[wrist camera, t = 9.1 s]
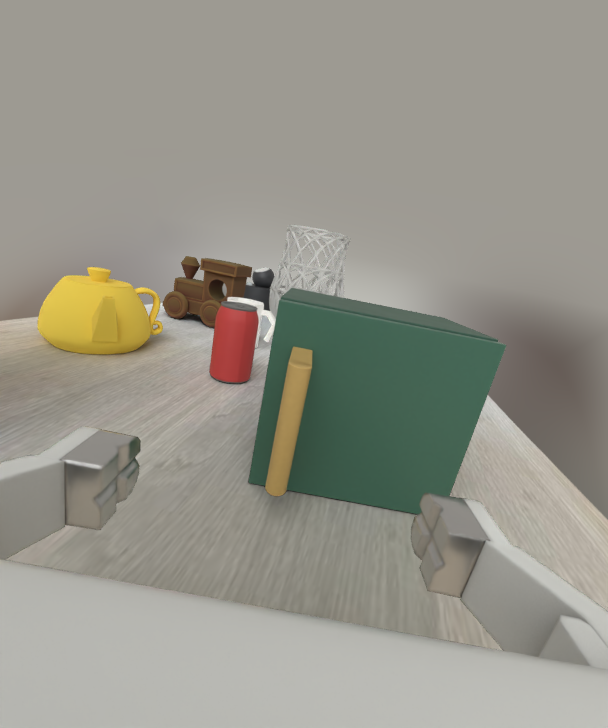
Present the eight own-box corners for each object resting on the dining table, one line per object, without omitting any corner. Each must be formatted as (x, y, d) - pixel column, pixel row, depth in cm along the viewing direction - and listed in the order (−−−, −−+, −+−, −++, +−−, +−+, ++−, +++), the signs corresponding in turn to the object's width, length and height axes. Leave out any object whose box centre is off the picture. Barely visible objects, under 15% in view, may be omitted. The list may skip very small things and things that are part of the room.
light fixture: (233, 260, 120) (267, 267, 129) (227, 304, 125) (261, 307, 133) (249, 265, 110) (285, 271, 119) (243, 312, 115) (278, 315, 123)
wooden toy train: (245, 326, 94) (254, 266, 89) (227, 332, 83) (236, 264, 78) (182, 311, 97) (187, 252, 92) (157, 315, 86) (161, 249, 82)
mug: (215, 343, 71) (220, 298, 69) (229, 336, 80) (234, 295, 77) (268, 356, 70) (276, 310, 68) (277, 347, 79) (284, 306, 76)
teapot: (38, 328, 59) (36, 254, 56) (151, 331, 71) (155, 271, 67) (36, 366, 45) (32, 269, 41) (179, 363, 56) (186, 287, 52)
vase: (311, 320, 128) (327, 238, 119) (351, 337, 109) (373, 241, 100) (253, 315, 114) (267, 222, 106) (287, 333, 95) (307, 223, 87)
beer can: (235, 388, 50) (246, 310, 47) (200, 376, 52) (208, 300, 49) (257, 378, 56) (268, 308, 53) (225, 367, 58) (233, 299, 55)
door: (466, 569, 25) (553, 364, 21) (234, 527, 25) (269, 308, 20) (437, 510, 31) (499, 342, 27) (250, 476, 31) (280, 298, 26)
